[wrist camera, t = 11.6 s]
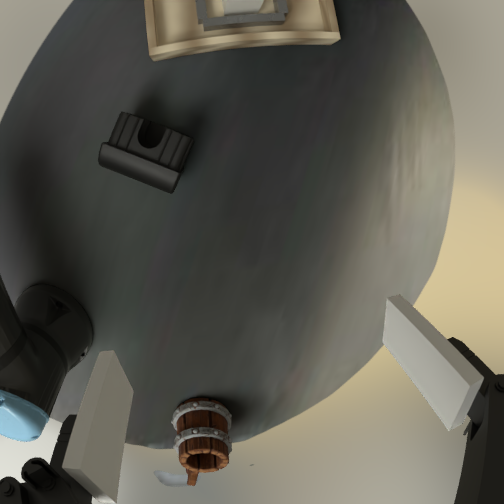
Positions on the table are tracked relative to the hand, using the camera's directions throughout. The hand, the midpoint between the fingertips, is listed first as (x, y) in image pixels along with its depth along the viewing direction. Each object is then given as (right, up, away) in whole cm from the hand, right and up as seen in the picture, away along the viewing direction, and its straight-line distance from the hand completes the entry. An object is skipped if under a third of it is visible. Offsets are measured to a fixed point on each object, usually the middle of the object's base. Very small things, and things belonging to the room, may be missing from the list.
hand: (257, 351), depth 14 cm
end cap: (-13, +18, +25) cm, 33 cm away
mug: (-11, -29, +43) cm, 53 cm away
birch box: (-2, +38, +18) cm, 43 cm away
